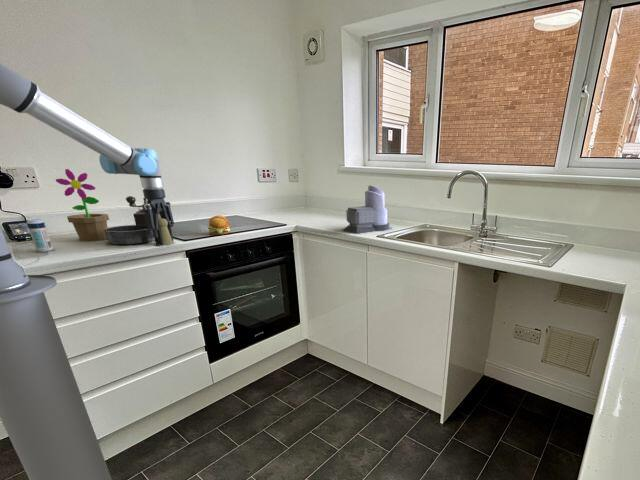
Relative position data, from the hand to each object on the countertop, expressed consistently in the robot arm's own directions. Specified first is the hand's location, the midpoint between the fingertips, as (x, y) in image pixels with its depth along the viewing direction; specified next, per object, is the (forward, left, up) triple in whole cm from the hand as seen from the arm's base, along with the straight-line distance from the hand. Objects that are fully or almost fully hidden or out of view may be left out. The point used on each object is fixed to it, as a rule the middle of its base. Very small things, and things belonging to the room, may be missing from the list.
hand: (165, 243), depth 155 cm
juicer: (+59, -82, 0) cm, 101 cm away
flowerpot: (+3, +36, 0) cm, 36 cm away
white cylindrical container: (-21, +34, 0) cm, 40 cm away
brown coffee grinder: (+23, +25, 0) cm, 34 cm away
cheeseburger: (+27, -10, 0) cm, 29 cm away
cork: (0, 0, -1) cm, 1 cm away
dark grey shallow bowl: (+1, +16, 0) cm, 16 cm away
